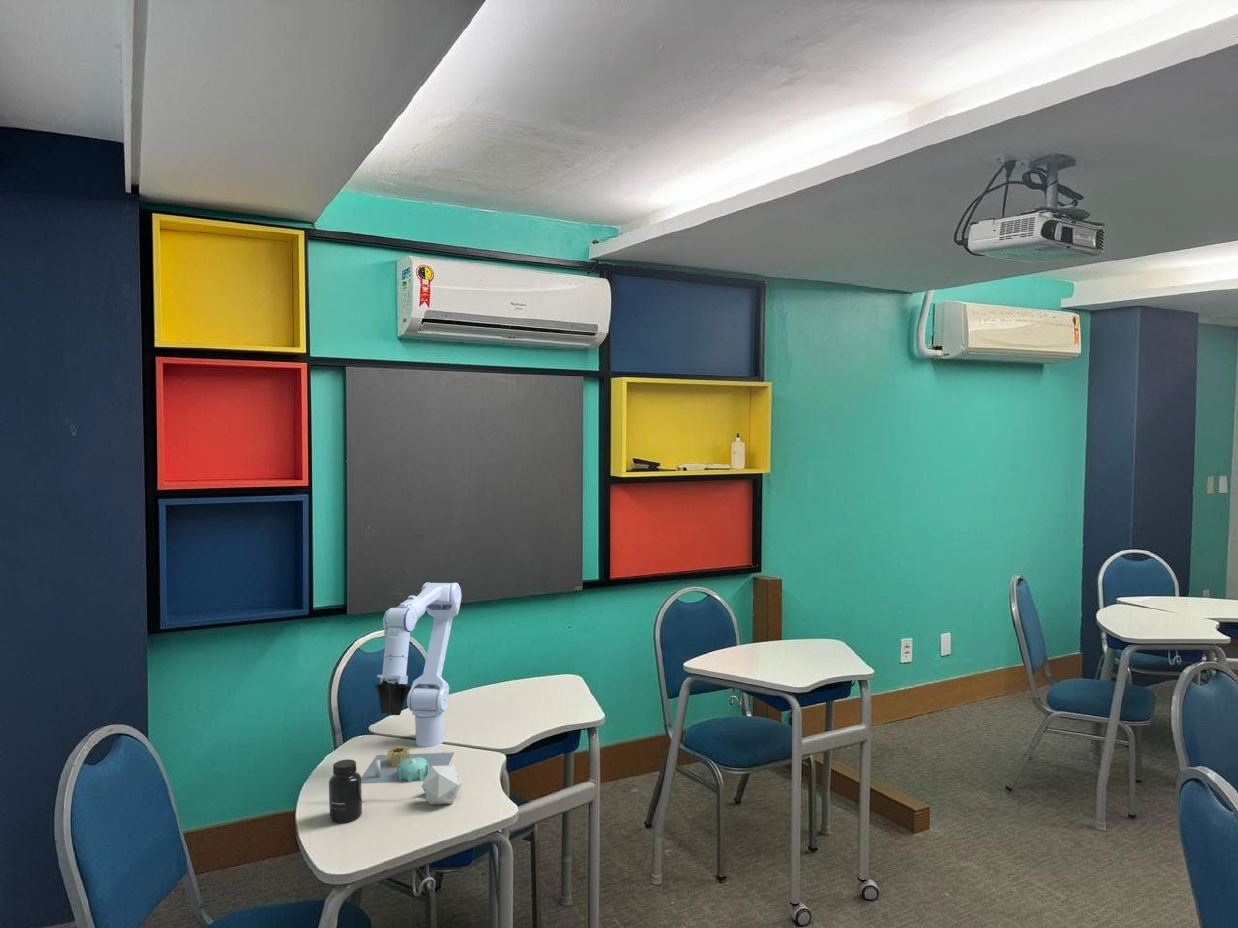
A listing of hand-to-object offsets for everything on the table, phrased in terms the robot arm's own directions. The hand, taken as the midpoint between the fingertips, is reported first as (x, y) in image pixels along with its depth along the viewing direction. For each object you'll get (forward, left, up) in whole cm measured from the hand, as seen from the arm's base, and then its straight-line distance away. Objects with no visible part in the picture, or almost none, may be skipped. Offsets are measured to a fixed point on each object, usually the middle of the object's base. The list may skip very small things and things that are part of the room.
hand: (390, 714), depth 202 cm
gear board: (-4, +3, -16) cm, 17 cm away
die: (+13, +15, -16) cm, 26 cm away
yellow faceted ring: (-7, 0, -15) cm, 16 cm away
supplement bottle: (+19, -5, -16) cm, 26 cm away
